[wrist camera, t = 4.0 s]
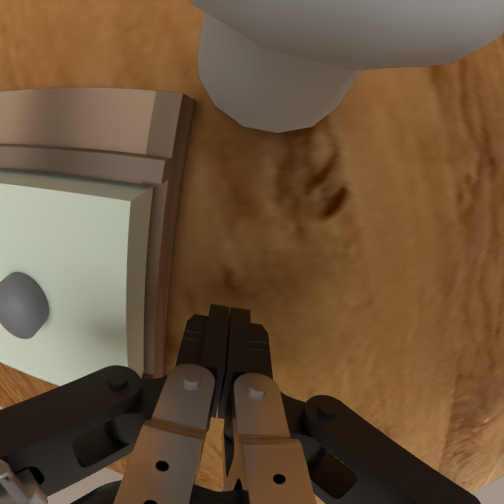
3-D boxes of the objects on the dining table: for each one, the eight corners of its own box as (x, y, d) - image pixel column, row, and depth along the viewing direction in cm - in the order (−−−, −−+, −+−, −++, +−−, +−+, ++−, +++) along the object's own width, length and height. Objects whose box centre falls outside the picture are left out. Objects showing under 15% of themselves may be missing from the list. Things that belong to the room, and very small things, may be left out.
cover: (153, 186, 11) (118, 210, 8) (143, 370, 14) (125, 423, 11) (-16, 166, 10) (-68, 183, 7) (2, 327, 14) (-30, 363, 10)
